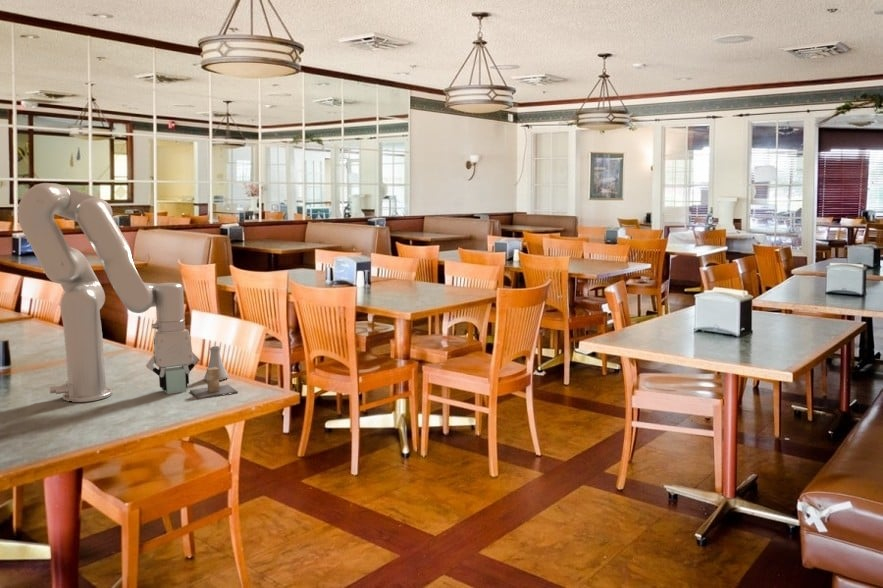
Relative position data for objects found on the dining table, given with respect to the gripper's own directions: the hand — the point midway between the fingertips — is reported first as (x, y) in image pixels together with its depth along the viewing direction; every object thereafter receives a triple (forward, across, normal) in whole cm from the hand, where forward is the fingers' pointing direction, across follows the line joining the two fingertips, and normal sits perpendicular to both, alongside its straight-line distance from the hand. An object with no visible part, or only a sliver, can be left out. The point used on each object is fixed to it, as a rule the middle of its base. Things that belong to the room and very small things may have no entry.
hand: (174, 387), depth 219 cm
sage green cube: (+1, 0, 0) cm, 1 cm away
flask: (+1, +14, +7) cm, 16 cm away
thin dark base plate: (+1, +9, -8) cm, 12 cm away
